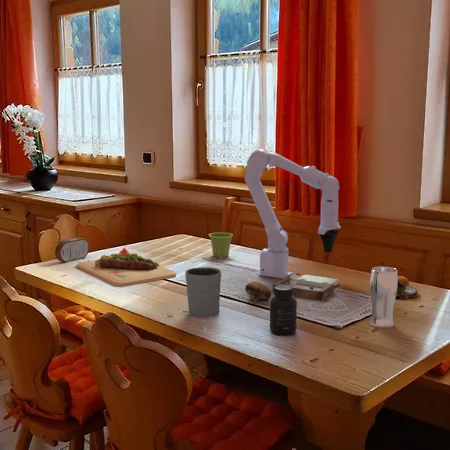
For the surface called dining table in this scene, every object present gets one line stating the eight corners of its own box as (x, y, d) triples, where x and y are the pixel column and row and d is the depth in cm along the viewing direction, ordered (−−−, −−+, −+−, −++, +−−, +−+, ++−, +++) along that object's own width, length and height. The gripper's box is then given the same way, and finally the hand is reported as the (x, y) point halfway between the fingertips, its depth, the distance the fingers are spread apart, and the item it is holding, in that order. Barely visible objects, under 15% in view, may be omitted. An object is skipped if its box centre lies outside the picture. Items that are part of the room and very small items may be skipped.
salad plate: (390, 287, 198) (391, 264, 197) (424, 294, 190) (425, 271, 189) (370, 294, 190) (371, 271, 189) (405, 302, 182) (406, 278, 180)
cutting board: (74, 267, 224) (73, 247, 222) (131, 259, 238) (130, 240, 236) (118, 289, 196) (117, 266, 195) (179, 277, 210) (179, 256, 209)
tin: (85, 256, 240) (85, 235, 239) (91, 257, 238) (90, 236, 237) (55, 263, 228) (53, 241, 227) (60, 264, 226) (59, 242, 225)
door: (296, 284, 201) (296, 278, 201) (304, 280, 207) (305, 273, 207) (330, 290, 195) (330, 283, 195) (338, 285, 201) (338, 278, 201)
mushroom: (249, 296, 176) (255, 276, 178) (237, 299, 183) (243, 280, 185) (272, 306, 178) (278, 287, 180) (259, 309, 185) (265, 290, 187)
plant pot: (232, 259, 236) (232, 237, 234) (208, 258, 236) (208, 236, 234) (232, 253, 245) (232, 232, 243) (209, 253, 245) (209, 232, 244)
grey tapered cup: (208, 320, 164) (208, 277, 162) (178, 314, 169) (177, 272, 167) (228, 310, 173) (228, 269, 170) (198, 304, 178) (198, 265, 176)
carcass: (272, 292, 191) (272, 282, 191) (286, 284, 200) (286, 275, 199) (321, 300, 183) (322, 290, 182) (333, 291, 192) (334, 282, 191)
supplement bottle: (267, 327, 158) (268, 283, 156) (293, 327, 159) (294, 282, 157) (271, 337, 152) (272, 290, 150) (298, 336, 152) (299, 290, 150)
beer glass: (396, 329, 157) (399, 273, 155) (368, 327, 159) (371, 271, 156) (394, 320, 164) (397, 266, 162) (367, 319, 166) (370, 265, 163)
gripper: (332, 216, 197) (331, 257, 199) (348, 210, 209) (346, 249, 211) (312, 214, 200) (311, 254, 203) (328, 209, 213) (327, 247, 215)
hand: (328, 251), depth 207 cm, fingers closed
